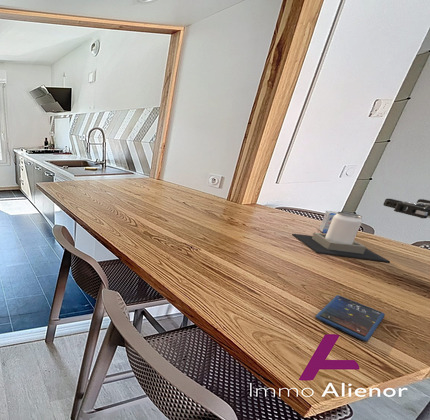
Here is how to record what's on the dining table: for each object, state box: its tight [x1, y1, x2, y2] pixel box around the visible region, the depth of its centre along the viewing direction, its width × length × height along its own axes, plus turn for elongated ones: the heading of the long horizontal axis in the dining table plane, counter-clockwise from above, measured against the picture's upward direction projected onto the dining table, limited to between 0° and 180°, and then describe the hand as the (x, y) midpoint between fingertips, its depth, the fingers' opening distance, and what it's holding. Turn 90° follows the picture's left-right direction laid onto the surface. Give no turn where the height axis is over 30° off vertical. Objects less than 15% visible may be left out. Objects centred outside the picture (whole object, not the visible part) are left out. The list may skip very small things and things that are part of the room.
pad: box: [291, 232, 391, 264], centre depth 86 cm, size 18×16×3 cm
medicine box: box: [318, 210, 338, 234], centre depth 97 cm, size 8×4×9 cm, turn 55°
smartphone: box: [315, 294, 386, 342], centre depth 54 cm, size 8×1×15 cm
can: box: [325, 211, 363, 244], centre depth 85 cm, size 6×6×12 cm
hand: (401, 202), depth 70 cm, fingers open, 8 cm apart
